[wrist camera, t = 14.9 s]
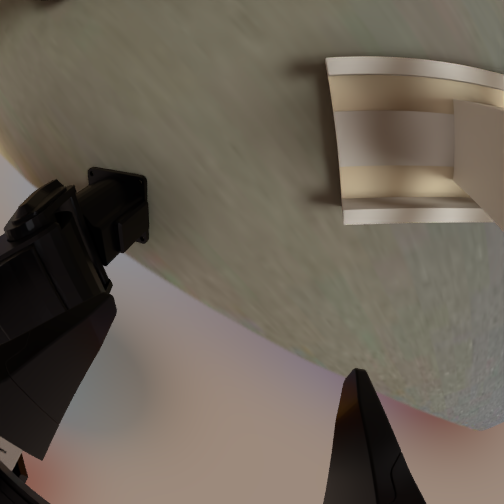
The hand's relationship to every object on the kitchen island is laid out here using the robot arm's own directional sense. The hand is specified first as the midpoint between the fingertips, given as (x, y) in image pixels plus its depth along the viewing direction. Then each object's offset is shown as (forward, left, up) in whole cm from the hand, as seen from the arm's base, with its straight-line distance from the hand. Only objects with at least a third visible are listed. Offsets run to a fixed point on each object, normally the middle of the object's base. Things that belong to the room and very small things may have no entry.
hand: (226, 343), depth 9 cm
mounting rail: (+12, +9, -13) cm, 20 cm away
